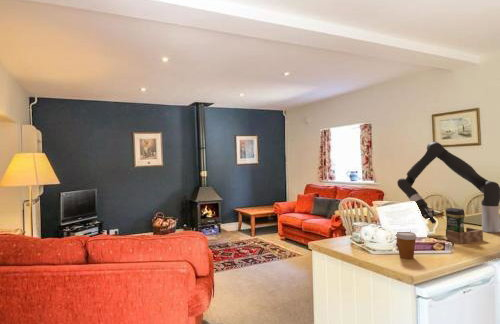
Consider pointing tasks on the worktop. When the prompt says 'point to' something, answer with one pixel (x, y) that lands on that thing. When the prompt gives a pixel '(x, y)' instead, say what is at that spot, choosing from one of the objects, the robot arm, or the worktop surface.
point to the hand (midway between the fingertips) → (434, 222)
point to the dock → (465, 236)
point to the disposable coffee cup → (406, 244)
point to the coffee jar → (455, 220)
